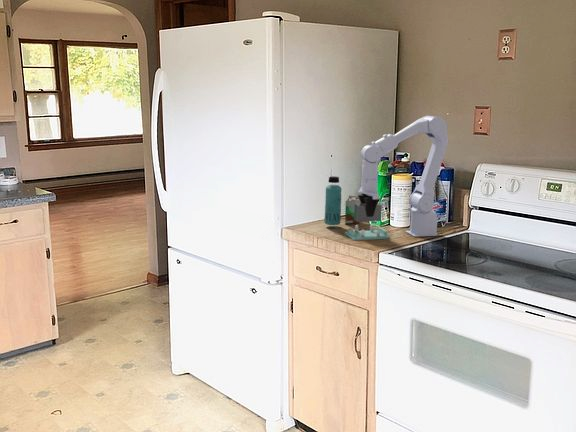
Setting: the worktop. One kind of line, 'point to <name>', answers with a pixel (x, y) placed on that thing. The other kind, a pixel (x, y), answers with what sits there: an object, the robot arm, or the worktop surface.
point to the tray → (367, 233)
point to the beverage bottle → (333, 202)
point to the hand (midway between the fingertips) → (368, 215)
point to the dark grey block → (361, 213)
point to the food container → (351, 210)
